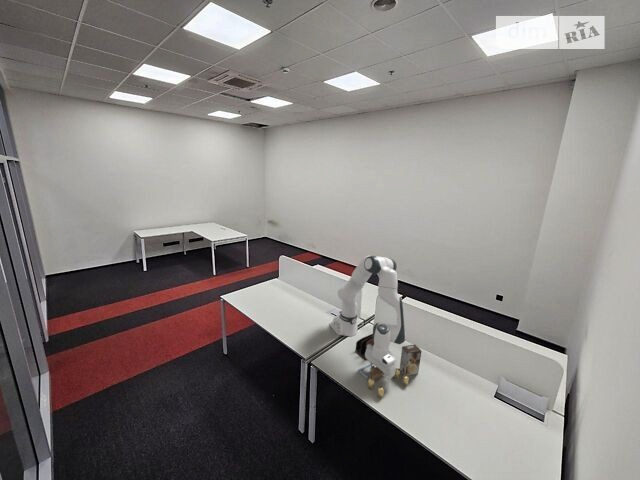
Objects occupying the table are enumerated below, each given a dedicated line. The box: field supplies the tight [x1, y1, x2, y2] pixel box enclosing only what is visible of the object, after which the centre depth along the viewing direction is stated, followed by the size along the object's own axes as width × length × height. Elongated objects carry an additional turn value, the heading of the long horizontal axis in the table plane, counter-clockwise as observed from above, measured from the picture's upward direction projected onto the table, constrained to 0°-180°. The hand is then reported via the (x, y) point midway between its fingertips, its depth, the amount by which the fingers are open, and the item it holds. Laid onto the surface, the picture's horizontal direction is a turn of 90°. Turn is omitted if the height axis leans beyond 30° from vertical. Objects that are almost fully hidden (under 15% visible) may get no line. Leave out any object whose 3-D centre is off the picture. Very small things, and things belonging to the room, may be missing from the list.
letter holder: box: [354, 333, 374, 361], centre depth 174 cm, size 10×20×14 cm, turn 124°
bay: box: [357, 363, 371, 380], centre depth 158 cm, size 7×14×1 cm, turn 125°
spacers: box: [367, 367, 410, 400], centre depth 148 cm, size 15×21×5 cm
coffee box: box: [399, 344, 422, 376], centre depth 156 cm, size 9×6×16 cm
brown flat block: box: [369, 366, 385, 381], centre depth 153 cm, size 2×10×6 cm, turn 125°
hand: (378, 372), depth 153 cm, fingers open, 8 cm apart
